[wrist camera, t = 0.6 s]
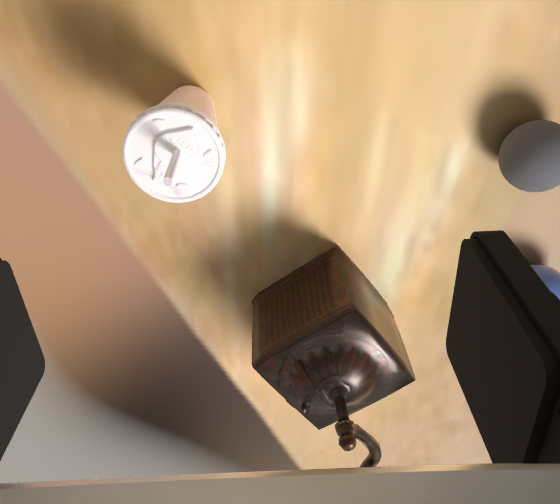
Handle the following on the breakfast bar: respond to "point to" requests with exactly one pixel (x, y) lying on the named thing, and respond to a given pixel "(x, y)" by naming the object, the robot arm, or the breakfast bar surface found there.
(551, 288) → the object ball
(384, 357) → the brown coffee grinder
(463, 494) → the robot arm
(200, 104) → the smoothie
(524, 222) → the breakfast bar surface
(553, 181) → the gray ball
